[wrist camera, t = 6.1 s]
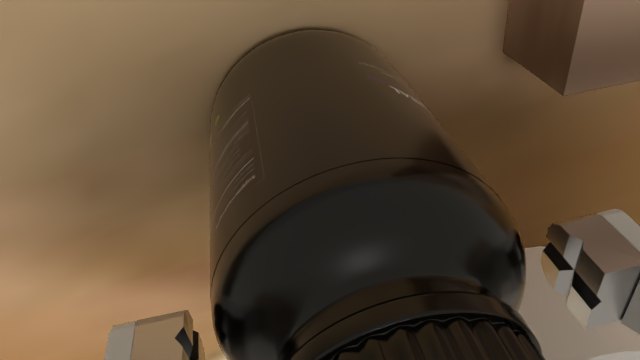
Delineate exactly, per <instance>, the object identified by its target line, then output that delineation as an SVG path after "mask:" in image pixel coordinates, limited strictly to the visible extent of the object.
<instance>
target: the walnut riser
mask: <svg viewBox="0 0 640 360" xmlns="http://www.w3.org/2000/svg"><path fill="white" fill-rule="evenodd" d="M503 52H504V53H506V54H507V55H508V56H510V57H511V58H512V59H514V60H515V61H517V62H518V63H519V64H521V65H522V66H523V67H525V68H526V69H527V70H529V71H530V72H532V73H533V74H534V75H536V76H537V77H538V78H540V79H541V80H542V81H544V82H545V83H546V84H548V85H549V86H551V87H552V88H553V89H555V90H556V91H557V92H559V93H560V94H561V95H563V96H566V95H571V94H576V93H581V92H586V91H591V90H596V89H601V88H606V87H611V86H615V85H620V84H625V83H630V82H635V81H640V0H509V6H508V14H507V22H506V30H505V38H504V45H503Z"/></svg>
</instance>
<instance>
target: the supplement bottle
mask: <svg viewBox="0 0 640 360" xmlns="http://www.w3.org/2000/svg"><path fill="white" fill-rule="evenodd" d="M525 283H526V256H525V248H524V244H523V240H522V236H521V233H520V230H519V228H518V226H517V224H516V221H515V220H514V218H513V217H512V215H511V214H510V212H509V210H508V209H507V207H506V206H505V204H504V203H503V202H502V200H501V199H500V197H499V196H498V195H497V193H496V192H495V191H494V190H493V188H492V187H491V186H490V185H489V183H488V182H487V181H486V180H485V179H484V177H483V176H482V175H481V174H480V172H479V171H478V170H477V169H476V167H475V166H474V165H473V164H472V162H471V161H470V160H469V159H468V158H467V156H466V155H465V154H464V153H463V151H462V150H461V149H460V148H459V146H458V145H457V144H456V143H455V141H454V140H453V139H452V138H451V137H450V135H449V134H448V133H447V132H446V130H445V129H444V128H443V127H442V125H441V124H440V123H439V122H438V120H437V119H436V118H435V117H434V116H433V114H432V113H431V112H430V111H429V109H428V108H427V107H426V106H425V104H424V103H423V102H422V101H421V99H420V98H419V97H418V96H417V95H416V93H415V92H414V91H413V90H412V88H411V87H410V86H409V85H408V83H407V82H406V81H405V80H404V78H403V77H402V76H401V75H400V74H399V73H398V71H397V70H396V69H395V68H394V67H393V66H392V65H391V63H390V62H389V61H388V60H387V59H386V58H385V57H384V56H383V55H382V54H381V53H380V52H378V51H377V50H376V49H374V48H373V47H372V46H370V45H369V44H367V43H365V42H364V41H362V40H360V39H357V38H355V37H353V36H350V35H347V34H344V33H339V32H334V31H327V30H305V31H297V32H292V33H288V34H285V35H281V36H278V37H276V38H274V39H271V40H269V41H267V42H265V43H263V44H261V45H260V46H258V47H257V48H255V49H254V50H252V51H251V52H249V53H248V54H247V55H246V56H245V57H243V58H242V59H241V60H240V61H239V62H238V63H237V64H236V65H235V66H234V68H233V69H232V70H231V71H230V72H229V74H228V75H227V77H226V78H225V80H224V81H223V83H222V85H221V87H220V89H219V91H218V93H217V96H216V98H215V101H214V105H213V109H212V114H211V121H210V297H211V311H212V320H213V328H214V331H215V335H216V338H217V341H218V344H219V346H220V348H221V350H222V352H223V354H224V356H225V357H226V359H227V360H546V359H545V358H544V356H543V354H542V349H541V346H540V344H539V342H538V340H537V338H536V337H535V335H534V334H533V332H532V331H531V329H530V328H529V326H528V325H527V323H526V322H525V320H524V319H523V317H522V316H521V315H520V314H519V313H518V311H519V308H520V305H521V302H522V298H523V295H524V289H525Z"/></svg>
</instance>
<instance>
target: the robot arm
mask: <svg viewBox="0 0 640 360" xmlns="http://www.w3.org/2000/svg"><path fill="white" fill-rule="evenodd" d="M546 237H547V238H548V239H549V240H550V243H549V244H548V245H547V246H546V247H545V248H544V249H543V251H542V257H541V264H542V269H543V273H544V275H545V277H546V279H547V281H548V282H549V284H550V285H551V287H552V288H553V289H554V290H555V291H557V292H559V293H561V294H563V295H565V296H566V306H567V307H568V309H569V310H570V311H571V313H572V314H573V315H574V316H575V318H576V319H577V320H578V322H579V323H580V324H581V325H582V327H583V328H584V329H588V328H593V327H597V326H602V325H606V324H610V323H615V322H619V321H621V323H622V324H623V325H625V326H626V327H628V328H630V329H631V330H633V331H635V332H636V333H638V334H640V226H639V225H638V224H637V223H636V222H635V221H634V220H632V219H631V218H630V217H629V216H628V215H627V214H626V213H625V212H623V211H622V210H619V209H617V208H615V209H611V210H607V211H603V212H598V213H595V214H589V215H585V216H580V217H576V218H572V219H568V220H564V221H560V222H556V223H552V225H551V226H550V227H549V228H548V231H547V235H546ZM104 360H206V359H205V352H204V347H203V343H202V340H201V338H200V335H199V333H198V332H196V331H194V330H193V319H192V317H191V315H190V313H189V311H188V310H184V311H179V312H175V313H170V314H165V315H160V316H155V317H151V318H146V319H141V320H137V321H133V322H128V323H124V324H119V325H114V326H113V327H112V329H111V331H110V333H109V336H108V342H107V347H106V353H105V358H104Z"/></svg>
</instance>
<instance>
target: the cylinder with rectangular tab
mask: <svg viewBox="0 0 640 360" xmlns="http://www.w3.org/2000/svg"><path fill="white" fill-rule="evenodd" d="M544 248H545V247H542V246H538V247H530V248H525V256H526V283H525V289H524V295H523V298H522V302H521V305H520V308H519V311H518V313H519V314H520V315H521V316H522V317H523V319H524V320H525V322H526V323H527V325H528V326H529V328H530V329H531V331H532V332H533V334H534V335H535V337H536V338H537V340H538V342H539V344H540V346H541V349H542V354H543V356H544V358H545V359H546V360H640V334H638V333H636V332H635V331H633V330H631V329H630V328H628V327H626V326H625V325H623V324H622V323H621V321H619V322H615V323H610V324H606V325H602V326H597V327H593V328H588V329H584V328H583V327H582V325H581V324H580V323H579V322H578V320H577V319H576V318H575V316H574V315H573V314H572V313H571V311H570V310H569V309H568V307H567V306H566V296H565V295H563V294H561V293H559V292H557V291H555V290H554V289H553V288H552V287H551V285H550V284H549V282H548V281H547V279H546V277H545V275H544V273H543V269H542V264H541V257H542V251H543V249H544Z"/></svg>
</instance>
